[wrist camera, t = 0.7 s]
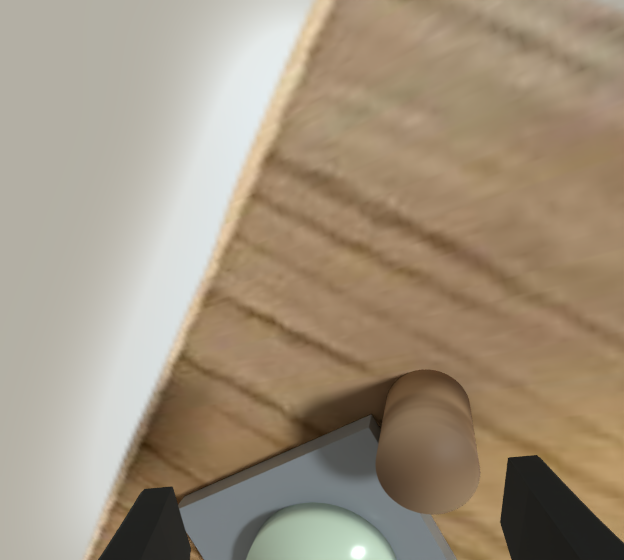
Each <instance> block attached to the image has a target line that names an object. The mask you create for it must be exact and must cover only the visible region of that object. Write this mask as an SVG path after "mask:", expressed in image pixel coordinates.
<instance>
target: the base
mask: <svg viewBox="0 0 624 560" xmlns="http://www.w3.org/2000/svg"><path fill="white" fill-rule="evenodd" d="M380 432H381V430H380V428H379V426H378V424H377V423H376V421H375V419H374V418H373V416H372V414H371V415H369V416H367V417H364V418H362V419H360V420H357V421H355V422H353V423H351V424H348V425H346V426H344V427H341V428H339V429H337V430H335V431H332V432H330V433H328V434H326V435H323V436H321V437H319V438H316V439H314V440H312V441H310V442H307V443H305V444H303V445H300V446H298V447H296V448H294V449H291V450H289V451H287V452H285V453H282V454H280V455H278V456H275V457H273V458H271V459H269V460H266V461H264V462H262V463H259V464H257V465H255V466H253V467H250V468H248V469H246V470H243V471H241V472H239V473H237V474H234V475H232V476H230V477H228V478H225V479H223V480H221V481H218V482H216V483H214V484H212V485H209V486H207V487H205V488H202V489H200V490H198V491H196V492H193V493H191V494H189V495H187V496H184V497H183V499H182V500H181V501H180V503H179V504H178V507H179V510H180V514H181V517H182V520H183V524H184V527H185V530H186V532H187V534H188V535H189V537H190V538H191V540H192V541H193V543H194V545H195V546H196V548H197V549H198V551H199V552H200V554H201V555H202V557H203V559H204V560H457V559H456V557H455V555H454V554H453V552H452V550H451V549H450V547H449V545H448V543H447V542H446V540H445V538H444V537H443V535H442V533H441V532H440V530H439V528H438V526H437V525H436V523H435V521H434V520H433V518H432V516H431V515H430V514H422V513H417V512H414V511H411V510H408V509H406V508H404V507H402V506H401V505H399V504H398V503H396V502H395V501H394V500H392V499H391V498H390V497H389V496H388V495H387V493H386V492H385V491H384V489H383V488H382V486H381V484H380V482H379V480H378V477H377V473H376V466H375V463H376V455H377V449H378V444H379V438H380Z"/></svg>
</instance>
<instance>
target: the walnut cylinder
mask: <svg viewBox="0 0 624 560" xmlns="http://www.w3.org/2000/svg"><path fill="white" fill-rule="evenodd" d="M375 466H376V473H377V477H378V480H379V482H380V484H381V486H382V488H383V489H384V491H385V492H386V493H387V495H388V496H389V497H390V498H391V499H392V500H394V501H395V502H396V503H398V504H399V505H401V506H402V507H404V508H406V509H408V510H411V511H414V512H417V513H422V514H443V513H447V512H451V511H453V510H455V509H458V508H459V507H461V506H463V505H464V504H465V503H466V502H467V501H468V500H469V499H470V498H471V497H472V496H473V494H474V493H475V491H476V489H477V487H478V484H479V479H480V466H479V459H478V453H477V447H476V440H475V434H474V428H473V421H472V415H471V409H470V403H469V399H468V396H467V394H466V392H465V391H464V389H463V387H462V386H461V385H460V384H459V383H458V382H457V381H456V380H455V379H453V378H452V377H450V376H448V375H446V374H444V373H442V372H438V371H434V370H417V371H413V372H410V373H407V374H406V375H404V376H402V377H401V378H399V379H398V380H397V381H396V382H395V383H394V384H393V385H392V387H391V389H390V390H389V393H388V395H387V399H386V404H385V410H384V416H383V421H382V427H381V432H380V438H379V444H378V449H377V455H376V463H375Z"/></svg>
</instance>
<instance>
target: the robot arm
mask: <svg viewBox="0 0 624 560" xmlns="http://www.w3.org/2000/svg"><path fill="white" fill-rule="evenodd" d="M500 523H501V526H502V530H503V533H504V536H505V540H506V543H507V546H508V549H509V553H510V556H511V559H512V560H624V543H623V542H622V541H621V540H620V539H619V538H618V537H617V536H616V535H615V534H614V533H613V532H612V531H611V530H610V529H609V528H608V527H607V526H606V525H605V524H603V523H602V522H601V521H600V520H599V519H598V518H597V517H596V516H595V515H594V514H593V513H592V512H591V510H590V509H589V508H588V507H587V506H586V505H585V504H584V503H583V502H582V501H581V500H580V499H579V498H578V497H577V496H576V495H575V494H574V493H573V492H572V491H571V490H570V489H569V488H568V487H567V486H566V485H565V484H564V483H563V481H562V480H561V479H560V478H559V477H558V476H557V475H556V474H555V473H554V472H553V471H552V470H551V469H550V468H549V467H548V466H547V464H546V463H545V462H544V461H543V460H542V459H541V458H540V457H538V456H537V455H534V456H522V457H510V458H508V463H507V471H506V479H505V488H504V496H503V504H502V512H501V521H500ZM190 552H191V547H190V544H189V541H188V537H187V534H186V530H185V527H184V524H183V520H182V517H181V514H180V510H179V507H178V503H177V500H176V497H175V493H174V490H173V487H163V488H151V489H144V490H143V491H142V492H141V493H140V495H139V496H138V498H137V500H136V501H135V503H134V505H133V506H132V508H131V509H130V511H129V513H128V514H127V516H126V517H125V519H124V521H123V522H122V524H121V525H120V527H119V529H118V530H117V532H116V533H115V535H114V536H113V538H112V539H111V541H110V543H109V544H108V546H107V547H106V549H105V550H104V552H103V553H102V555H101V556H100V558H99V559H98V560H190Z"/></svg>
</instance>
